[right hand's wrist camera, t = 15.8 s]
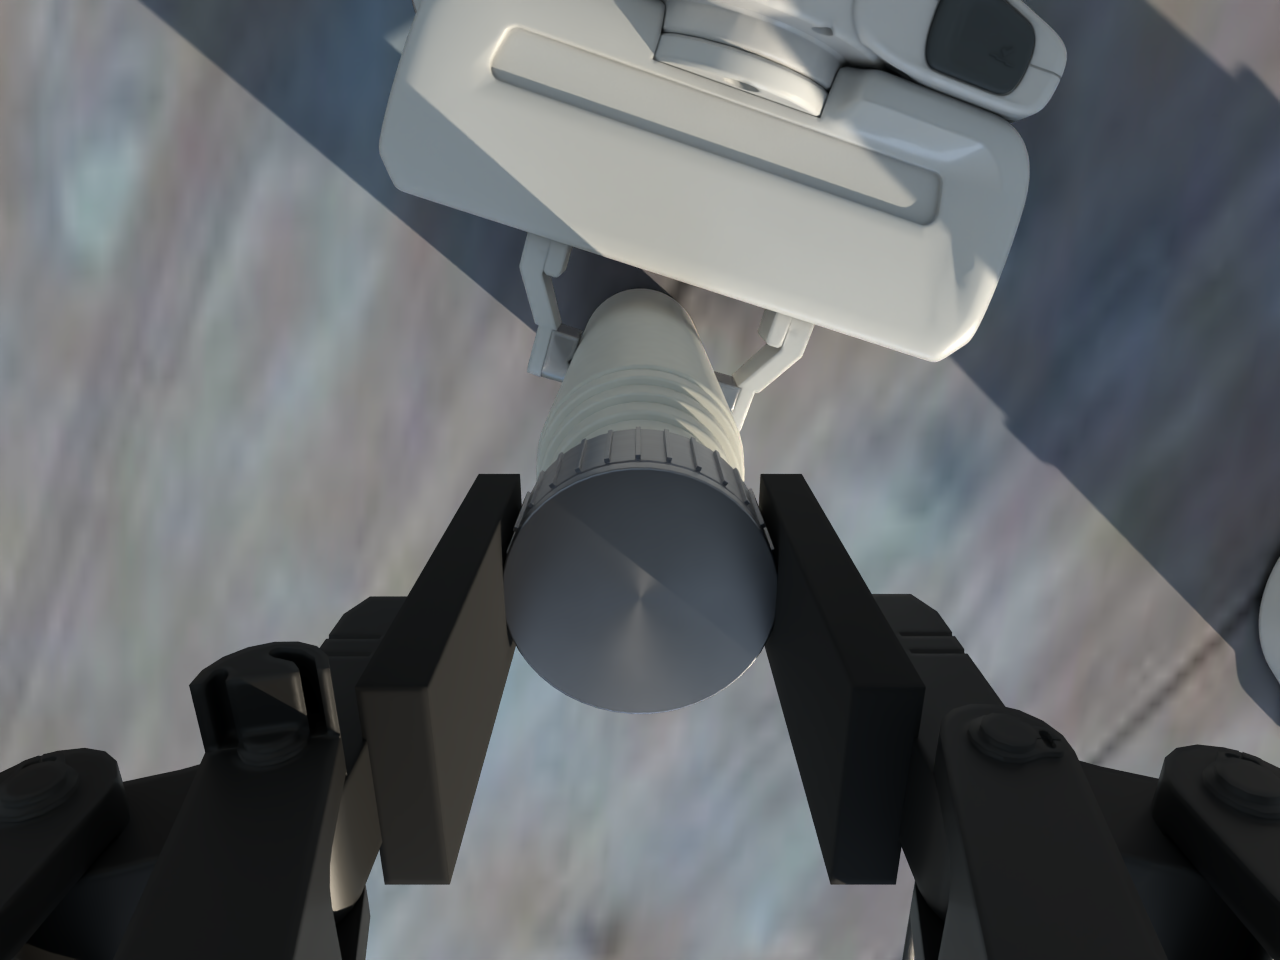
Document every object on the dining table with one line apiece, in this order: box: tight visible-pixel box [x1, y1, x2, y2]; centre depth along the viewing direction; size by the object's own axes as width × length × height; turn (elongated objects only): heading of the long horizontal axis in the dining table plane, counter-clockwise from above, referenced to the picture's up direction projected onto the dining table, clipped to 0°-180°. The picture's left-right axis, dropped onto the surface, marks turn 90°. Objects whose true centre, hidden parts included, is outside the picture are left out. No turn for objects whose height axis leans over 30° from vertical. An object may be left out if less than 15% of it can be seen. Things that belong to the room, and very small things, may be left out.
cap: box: [503, 427, 778, 714], centre depth 13 cm, size 5×5×2 cm
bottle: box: [536, 289, 744, 482], centre depth 23 cm, size 5×5×22 cm
